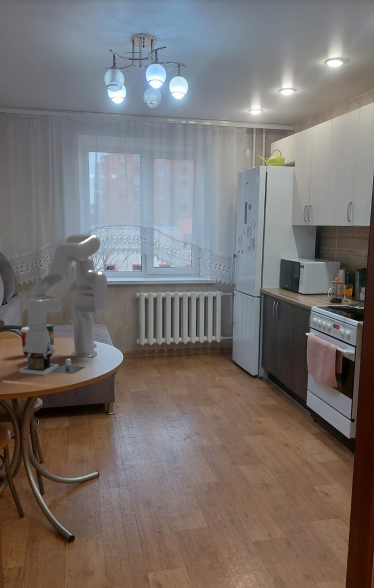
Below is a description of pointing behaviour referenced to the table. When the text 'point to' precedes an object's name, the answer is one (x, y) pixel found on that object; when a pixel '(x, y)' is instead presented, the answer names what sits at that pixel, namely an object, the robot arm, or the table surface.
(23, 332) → the paper cup
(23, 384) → the table surface
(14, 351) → the table surface
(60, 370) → the grey peg base
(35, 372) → the tray
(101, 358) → the table surface
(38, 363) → the brown hollow square block
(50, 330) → the canned tomato
